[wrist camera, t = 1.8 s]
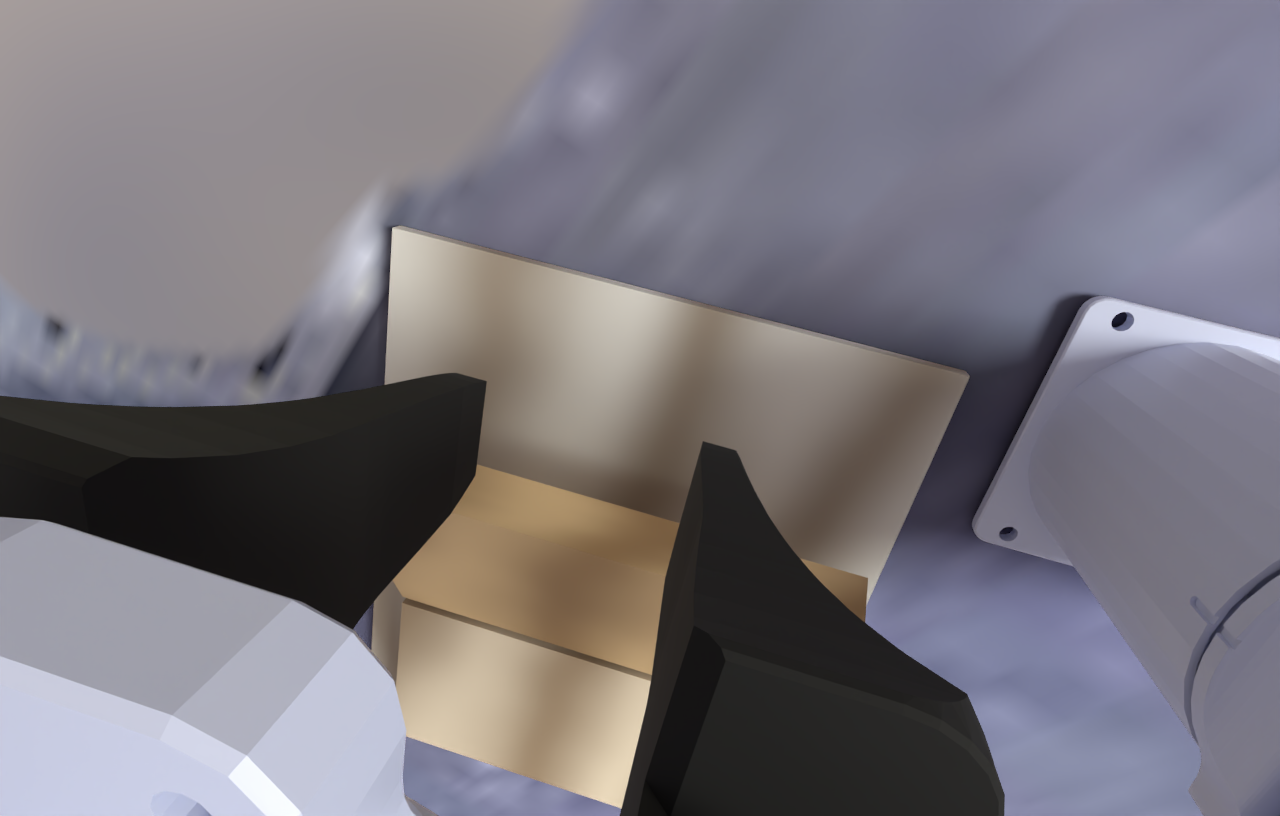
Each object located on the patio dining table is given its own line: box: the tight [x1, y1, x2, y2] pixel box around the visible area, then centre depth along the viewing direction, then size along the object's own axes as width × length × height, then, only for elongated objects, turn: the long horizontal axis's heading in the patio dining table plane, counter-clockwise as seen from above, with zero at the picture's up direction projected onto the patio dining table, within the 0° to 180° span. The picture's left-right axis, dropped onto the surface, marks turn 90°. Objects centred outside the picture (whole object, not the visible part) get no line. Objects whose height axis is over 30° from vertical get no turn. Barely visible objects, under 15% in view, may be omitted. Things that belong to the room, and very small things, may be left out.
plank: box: [393, 465, 868, 675], centre depth 20 cm, size 14×9×2 cm
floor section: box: [371, 226, 970, 808], centre depth 23 cm, size 18×20×2 cm
